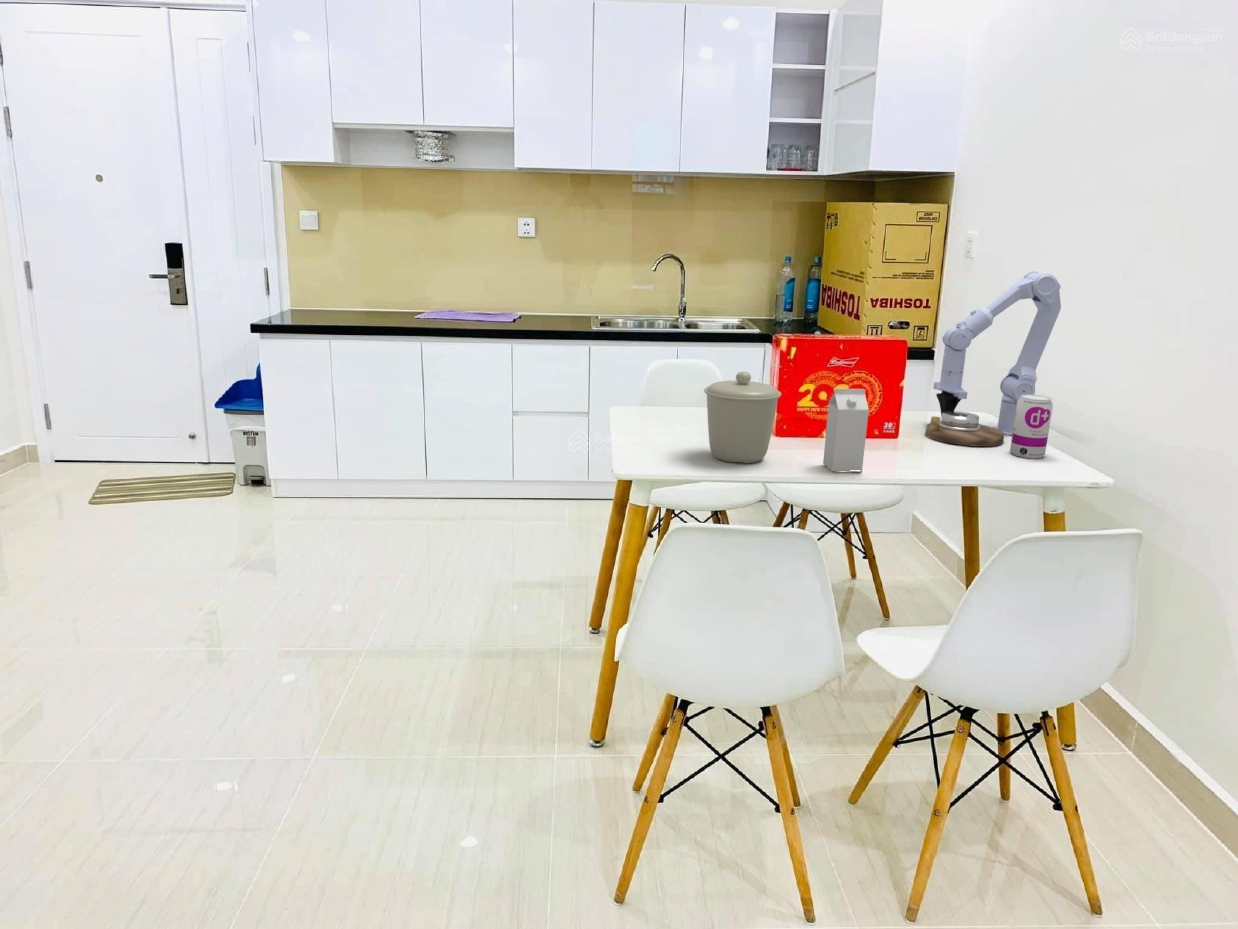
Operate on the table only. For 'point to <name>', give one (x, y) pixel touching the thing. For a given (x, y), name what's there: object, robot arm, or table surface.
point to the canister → (740, 418)
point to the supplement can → (1031, 426)
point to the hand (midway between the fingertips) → (946, 419)
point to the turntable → (964, 435)
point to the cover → (960, 421)
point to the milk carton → (846, 430)
